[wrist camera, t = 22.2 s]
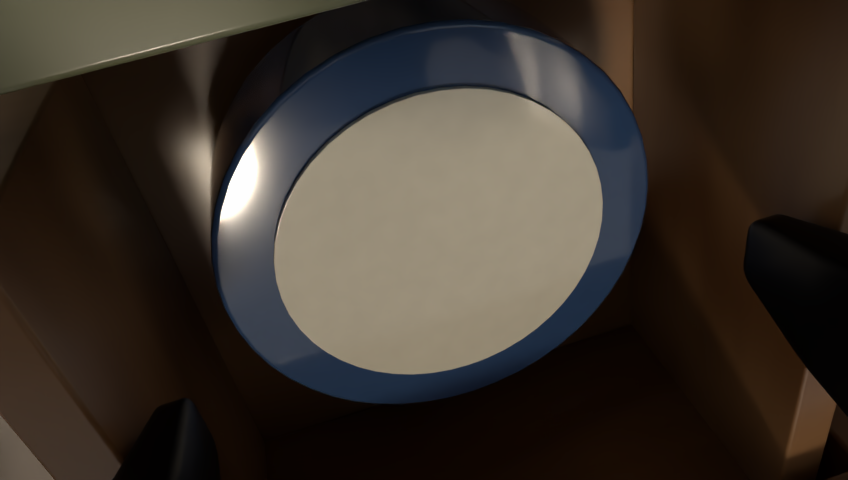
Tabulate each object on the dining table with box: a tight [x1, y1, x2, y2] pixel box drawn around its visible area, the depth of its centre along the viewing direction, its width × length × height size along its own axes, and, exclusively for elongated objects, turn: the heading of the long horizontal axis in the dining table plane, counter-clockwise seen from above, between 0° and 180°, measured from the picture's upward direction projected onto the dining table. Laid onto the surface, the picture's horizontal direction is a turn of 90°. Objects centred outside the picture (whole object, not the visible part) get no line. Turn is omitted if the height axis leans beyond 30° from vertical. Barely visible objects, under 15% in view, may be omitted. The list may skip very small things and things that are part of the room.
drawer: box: [0, 0, 848, 480], centre depth 10 cm, size 18×12×7 cm
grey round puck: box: [210, 0, 648, 404], centre depth 12 cm, size 7×7×3 cm
